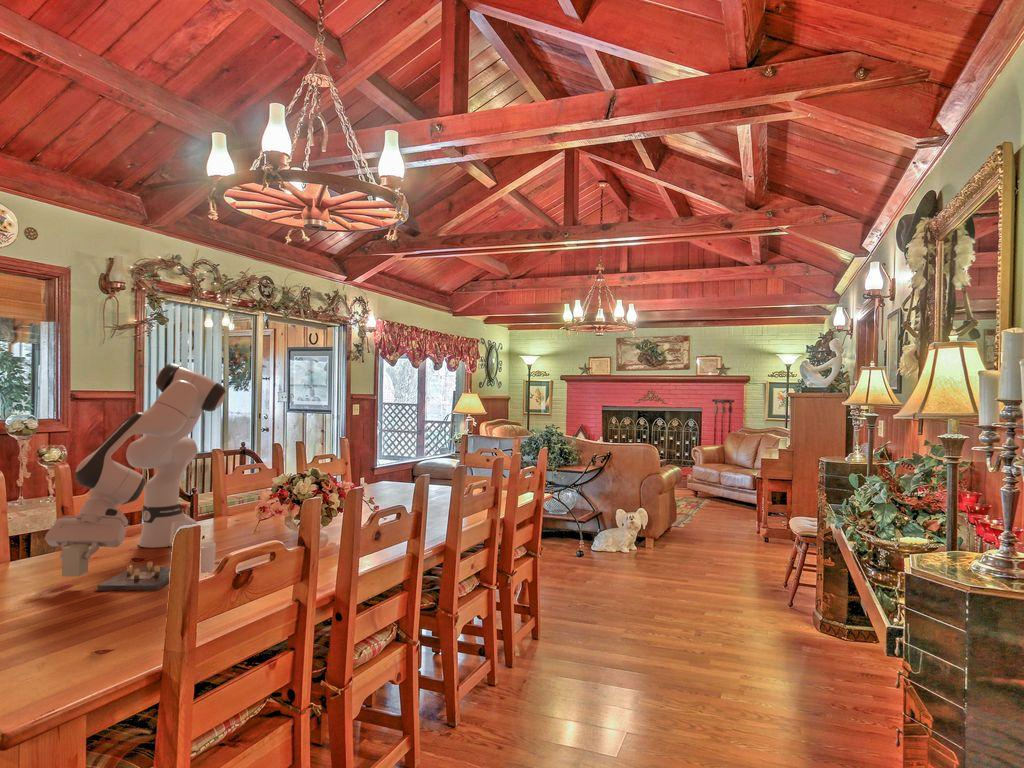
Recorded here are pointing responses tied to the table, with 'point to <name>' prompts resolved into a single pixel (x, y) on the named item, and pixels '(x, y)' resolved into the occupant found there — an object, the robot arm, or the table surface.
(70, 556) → the block
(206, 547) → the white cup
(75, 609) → the table surface
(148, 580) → the chassis
